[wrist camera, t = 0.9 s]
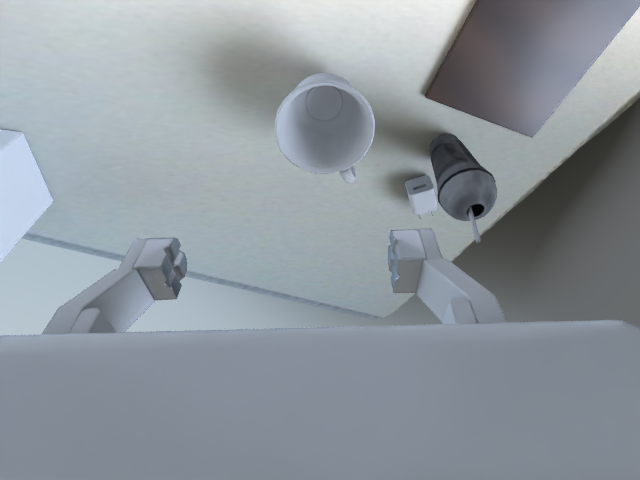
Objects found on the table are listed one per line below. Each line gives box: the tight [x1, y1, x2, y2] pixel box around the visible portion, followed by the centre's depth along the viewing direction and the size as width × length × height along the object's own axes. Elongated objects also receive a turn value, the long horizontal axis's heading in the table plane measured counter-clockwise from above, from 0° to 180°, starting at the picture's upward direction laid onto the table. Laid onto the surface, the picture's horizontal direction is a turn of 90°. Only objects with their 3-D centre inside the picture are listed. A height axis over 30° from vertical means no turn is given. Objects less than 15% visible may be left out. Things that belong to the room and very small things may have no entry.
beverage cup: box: [429, 134, 497, 243], centre depth 49 cm, size 7×7×20 cm
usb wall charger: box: [405, 175, 437, 219], centre depth 60 cm, size 4×7×4 cm, turn 21°
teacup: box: [274, 73, 375, 183], centre depth 48 cm, size 12×15×10 cm
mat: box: [425, 0, 640, 137], centre depth 46 cm, size 20×18×1 cm
